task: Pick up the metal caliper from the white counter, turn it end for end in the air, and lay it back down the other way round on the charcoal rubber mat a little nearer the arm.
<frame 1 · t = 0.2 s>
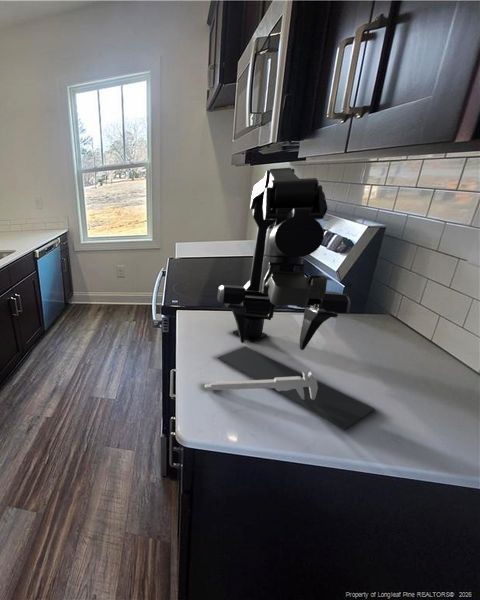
hand: (271, 345, 56), 15 cm above the countertop, tool pointing down, fingers open, 9 cm apart
caliper: (256, 394, 66), on the countertop, touching mat
mat: (285, 380, 70), on the countertop
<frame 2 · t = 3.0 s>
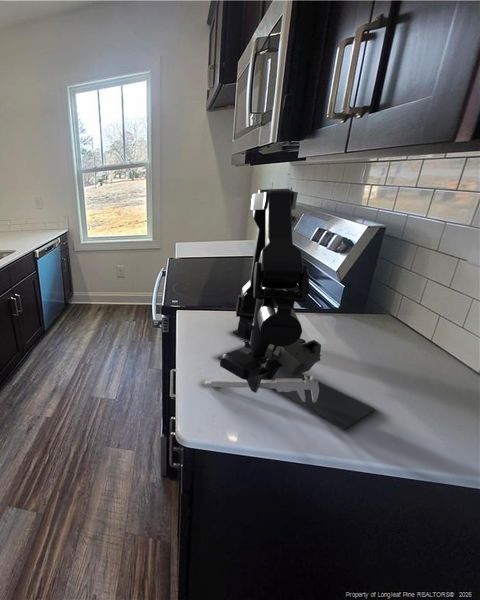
hand: (258, 389, 66), 1 cm above the countertop, tool pointing down, fingers closed on caliper, 3 cm apart
caliper: (256, 393, 67), on the countertop, touching gripper, mat
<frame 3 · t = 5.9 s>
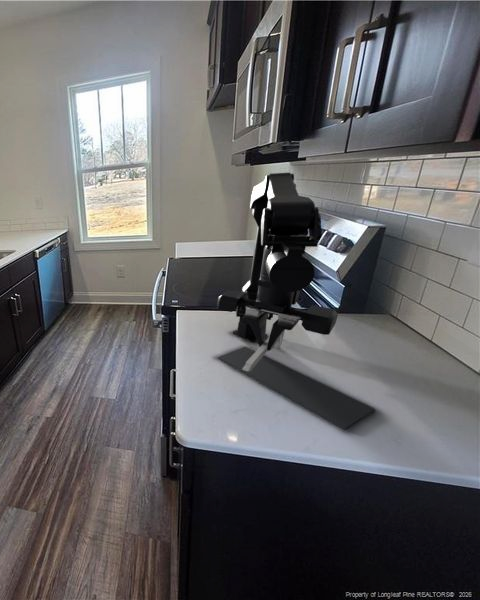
hand: (265, 348, 63), 11 cm above the countertop, tool pointing down, fingers closed on caliper
caliper: (263, 358, 63), point 9 cm above the countertop, touching gripper
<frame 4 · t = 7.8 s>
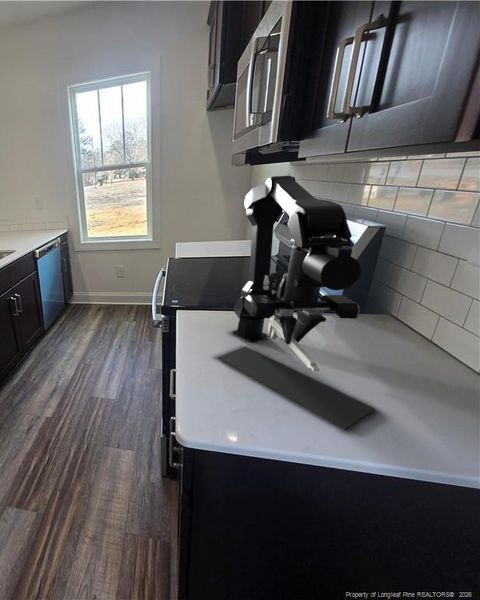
hand: (290, 343, 66), 10 cm above the countertop, tool pointing down, fingers closed on caliper
caliper: (289, 352, 67), point 7 cm above the countertop, touching gripper
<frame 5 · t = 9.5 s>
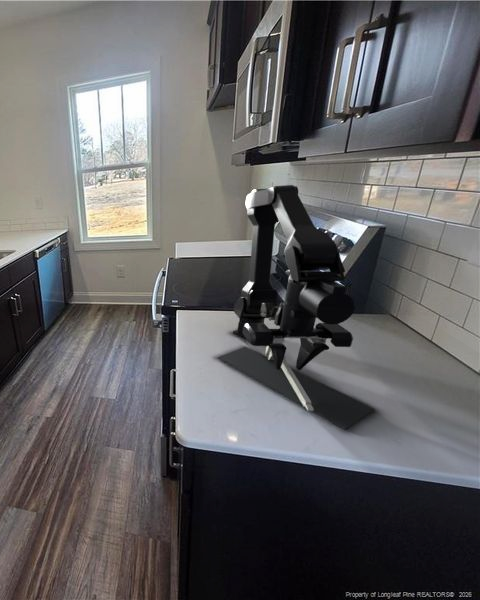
hand: (287, 368, 69), 3 cm above the countertop, tool pointing down, fingers open, 4 cm apart
caliper: (285, 380, 70), resting on mat
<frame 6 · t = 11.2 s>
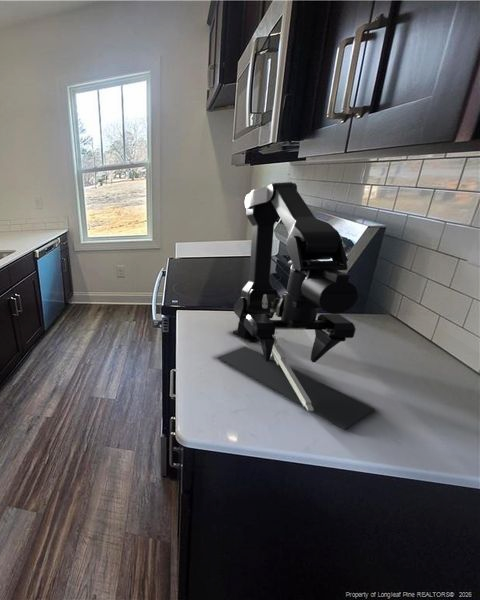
hand: (289, 360, 68), 5 cm above the countertop, tool pointing down, fingers open, 9 cm apart
nothing on the countertop moved.
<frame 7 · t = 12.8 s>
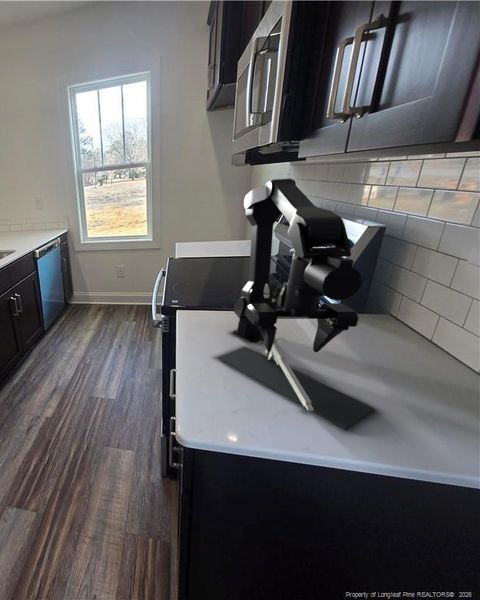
hand: (291, 351, 67), 8 cm above the countertop, tool pointing down, fingers open, 9 cm apart
nothing on the countertop moved.
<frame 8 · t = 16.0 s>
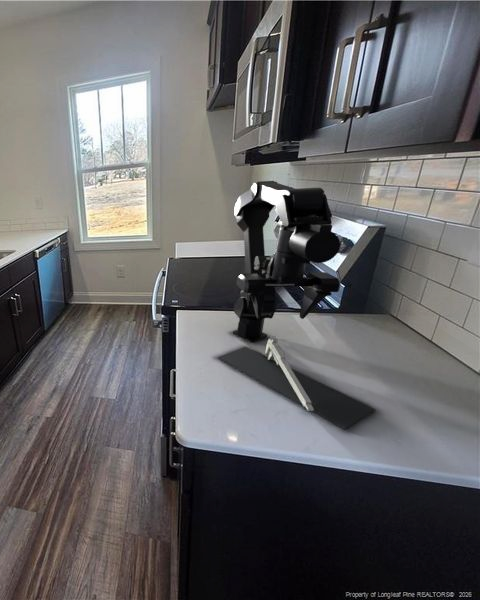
hand: (279, 318, 72), 12 cm above the countertop, tool pointing down, fingers open, 9 cm apart
nothing on the countertop moved.
at the end: caliper inside the target area (0.3 cm from its centre), resting on mat; caliper moved 9.1 cm from its start; caliper tilted 0° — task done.
